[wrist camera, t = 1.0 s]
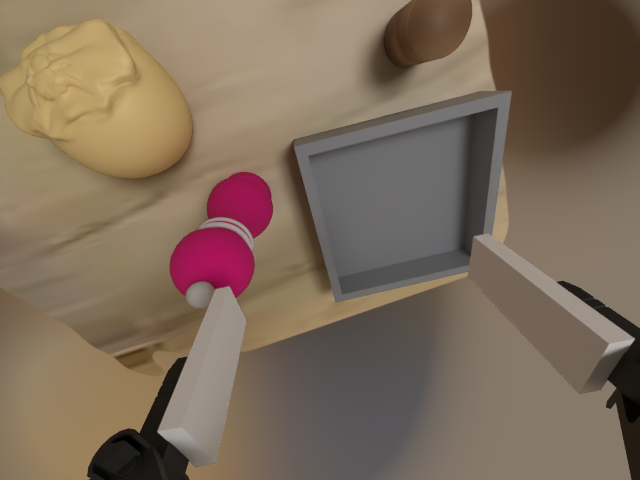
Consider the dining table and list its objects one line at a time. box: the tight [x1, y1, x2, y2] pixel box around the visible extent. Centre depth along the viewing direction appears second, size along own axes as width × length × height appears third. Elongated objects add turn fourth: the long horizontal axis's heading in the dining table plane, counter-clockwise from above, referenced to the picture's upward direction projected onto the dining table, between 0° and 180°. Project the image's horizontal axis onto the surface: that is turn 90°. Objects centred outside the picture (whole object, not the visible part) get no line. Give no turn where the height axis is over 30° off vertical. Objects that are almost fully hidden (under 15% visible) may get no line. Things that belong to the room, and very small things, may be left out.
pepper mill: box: [170, 172, 273, 309], centre depth 25 cm, size 7×7×20 cm
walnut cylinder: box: [384, 0, 472, 67], centre depth 23 cm, size 5×5×7 cm
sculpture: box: [0, 18, 193, 178], centre depth 23 cm, size 11×12×11 cm
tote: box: [294, 91, 512, 302], centre depth 33 cm, size 22×22×5 cm
